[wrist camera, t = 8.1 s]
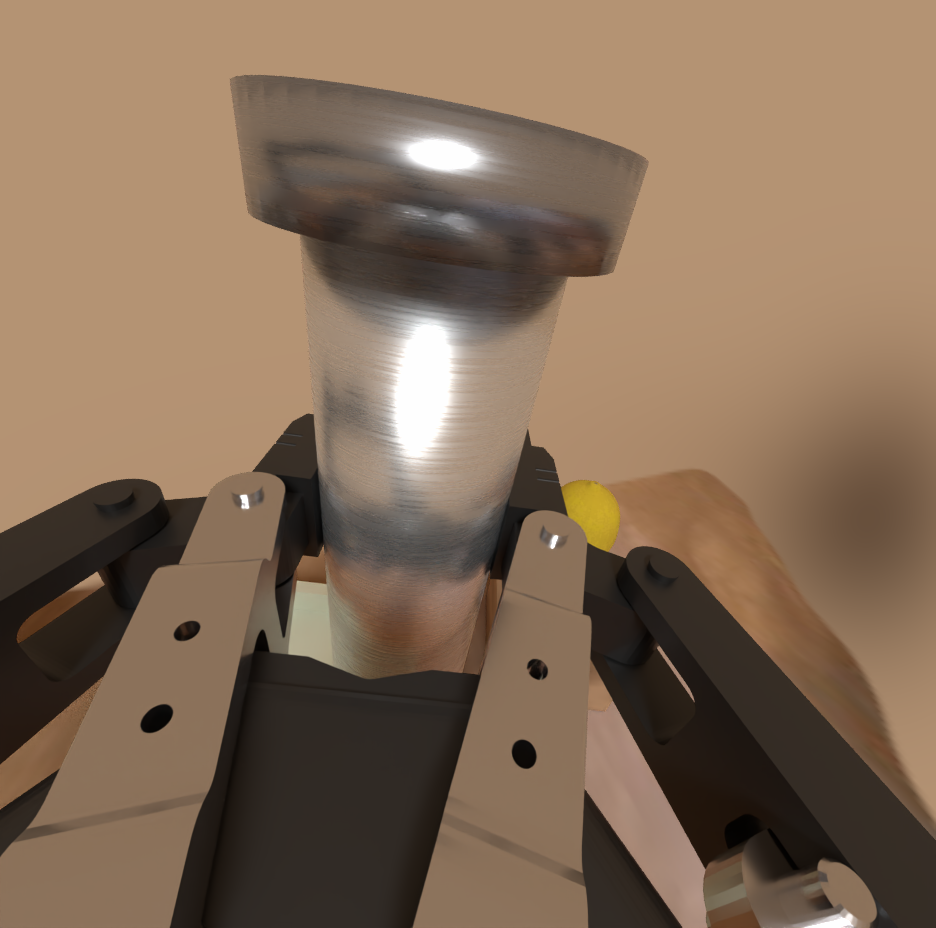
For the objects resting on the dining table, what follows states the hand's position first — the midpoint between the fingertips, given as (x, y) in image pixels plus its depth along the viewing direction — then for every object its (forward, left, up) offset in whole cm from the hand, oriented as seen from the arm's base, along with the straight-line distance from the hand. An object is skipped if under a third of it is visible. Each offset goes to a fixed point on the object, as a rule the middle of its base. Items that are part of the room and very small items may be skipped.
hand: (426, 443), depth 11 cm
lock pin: (0, -3, -8) cm, 8 cm away
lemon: (+11, +13, -18) cm, 25 cm away
